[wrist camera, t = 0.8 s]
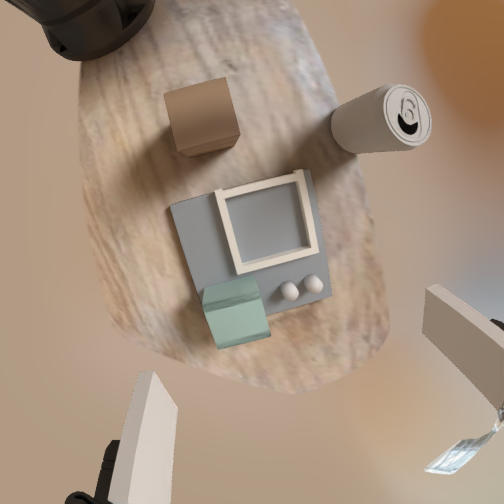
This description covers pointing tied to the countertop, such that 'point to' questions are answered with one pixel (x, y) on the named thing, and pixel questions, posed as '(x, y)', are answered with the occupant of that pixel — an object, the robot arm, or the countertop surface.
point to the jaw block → (202, 117)
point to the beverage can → (382, 121)
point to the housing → (235, 312)
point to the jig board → (258, 239)
